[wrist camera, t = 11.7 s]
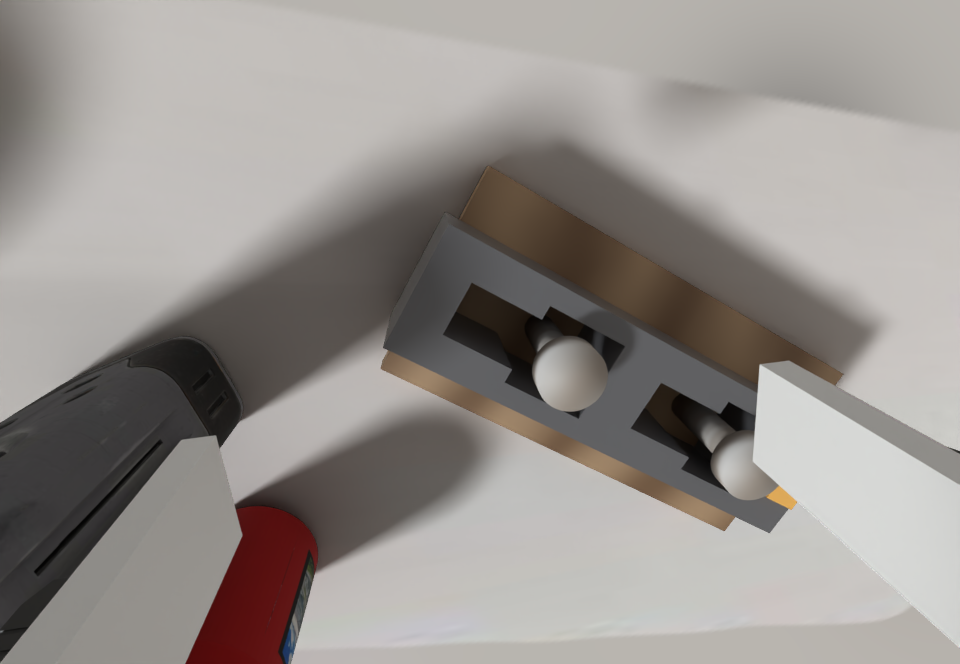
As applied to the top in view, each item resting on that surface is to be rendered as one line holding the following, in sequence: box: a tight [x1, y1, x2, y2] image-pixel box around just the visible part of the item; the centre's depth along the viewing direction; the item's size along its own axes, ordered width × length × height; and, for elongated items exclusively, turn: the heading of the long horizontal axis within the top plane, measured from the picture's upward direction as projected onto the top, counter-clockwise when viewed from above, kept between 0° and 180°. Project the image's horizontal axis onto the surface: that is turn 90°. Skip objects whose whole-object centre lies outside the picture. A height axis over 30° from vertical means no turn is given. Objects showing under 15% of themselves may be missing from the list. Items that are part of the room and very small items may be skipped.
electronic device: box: [0, 337, 243, 629], centre depth 21 cm, size 9×6×20 cm, turn 112°
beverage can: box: [185, 506, 318, 664], centre depth 28 cm, size 7×7×12 cm
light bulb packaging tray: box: [383, 212, 797, 533], centre depth 28 cm, size 22×6×6 cm, turn 61°
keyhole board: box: [381, 166, 843, 531], centre depth 29 cm, size 24×12×8 cm, turn 61°
